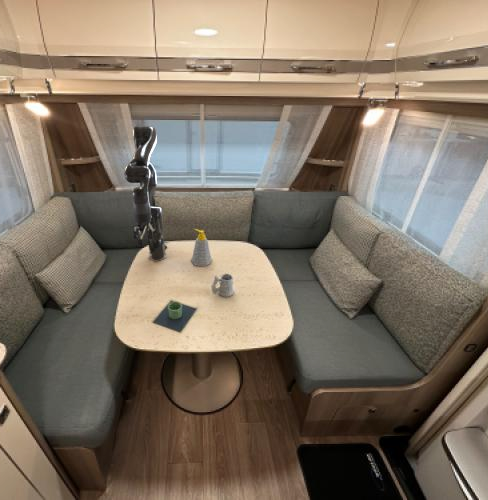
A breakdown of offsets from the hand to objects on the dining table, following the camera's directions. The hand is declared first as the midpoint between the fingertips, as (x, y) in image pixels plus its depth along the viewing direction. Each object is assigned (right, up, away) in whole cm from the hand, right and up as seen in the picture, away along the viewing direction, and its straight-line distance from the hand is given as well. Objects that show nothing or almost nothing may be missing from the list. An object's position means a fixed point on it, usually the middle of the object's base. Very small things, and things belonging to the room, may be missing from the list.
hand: (146, 241), depth 130 cm
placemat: (+15, -35, -7) cm, 38 cm away
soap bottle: (+27, -11, +35) cm, 45 cm away
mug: (+38, -27, +7) cm, 47 cm away
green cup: (+15, -34, -7) cm, 38 cm away
